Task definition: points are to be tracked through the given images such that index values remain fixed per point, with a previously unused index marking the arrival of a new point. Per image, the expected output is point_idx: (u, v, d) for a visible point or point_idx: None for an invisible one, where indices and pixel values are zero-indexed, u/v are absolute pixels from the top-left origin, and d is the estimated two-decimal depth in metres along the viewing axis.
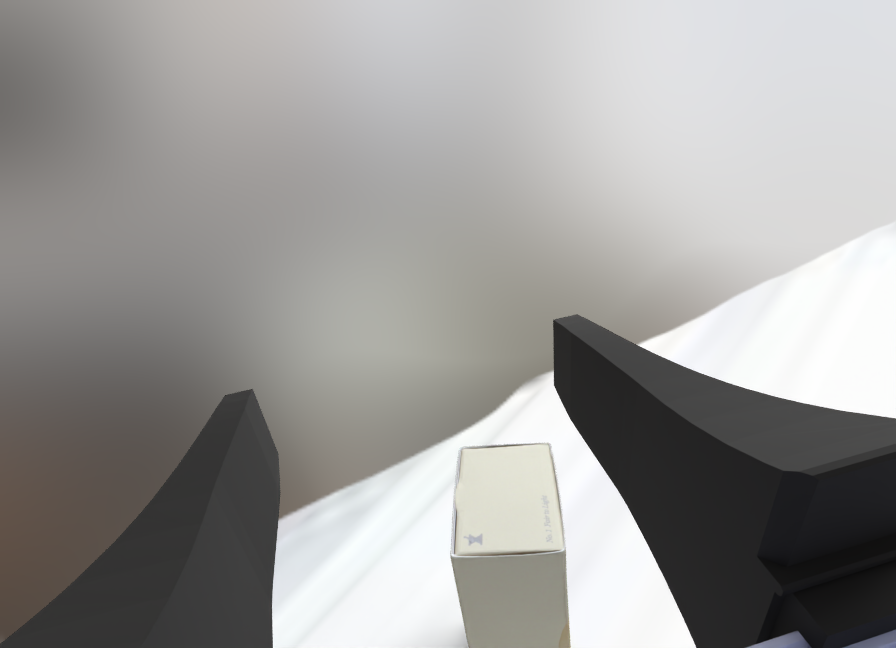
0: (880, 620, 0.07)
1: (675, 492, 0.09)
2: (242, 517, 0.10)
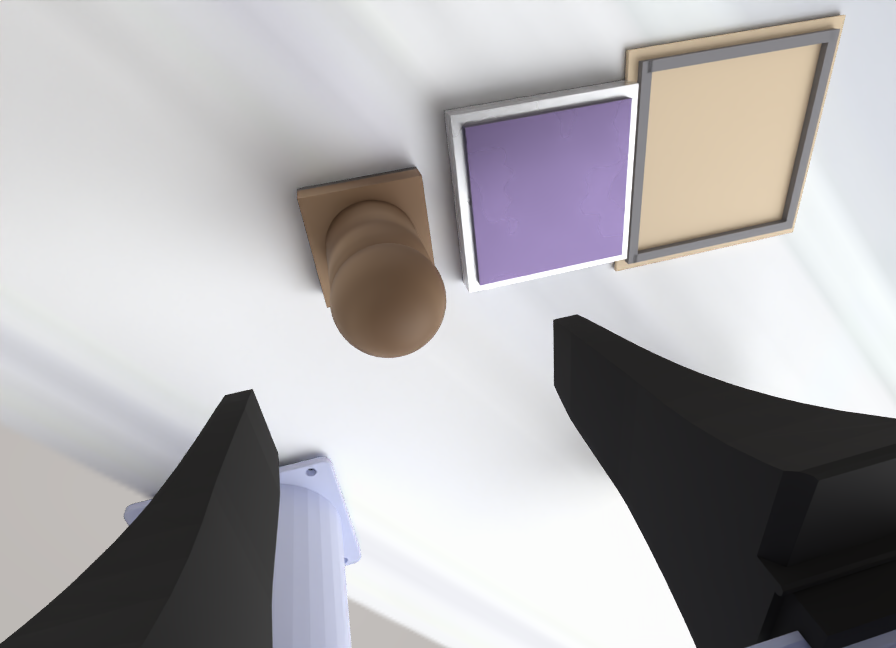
0: (880, 620, 0.07)
1: (675, 492, 0.09)
2: (242, 517, 0.10)
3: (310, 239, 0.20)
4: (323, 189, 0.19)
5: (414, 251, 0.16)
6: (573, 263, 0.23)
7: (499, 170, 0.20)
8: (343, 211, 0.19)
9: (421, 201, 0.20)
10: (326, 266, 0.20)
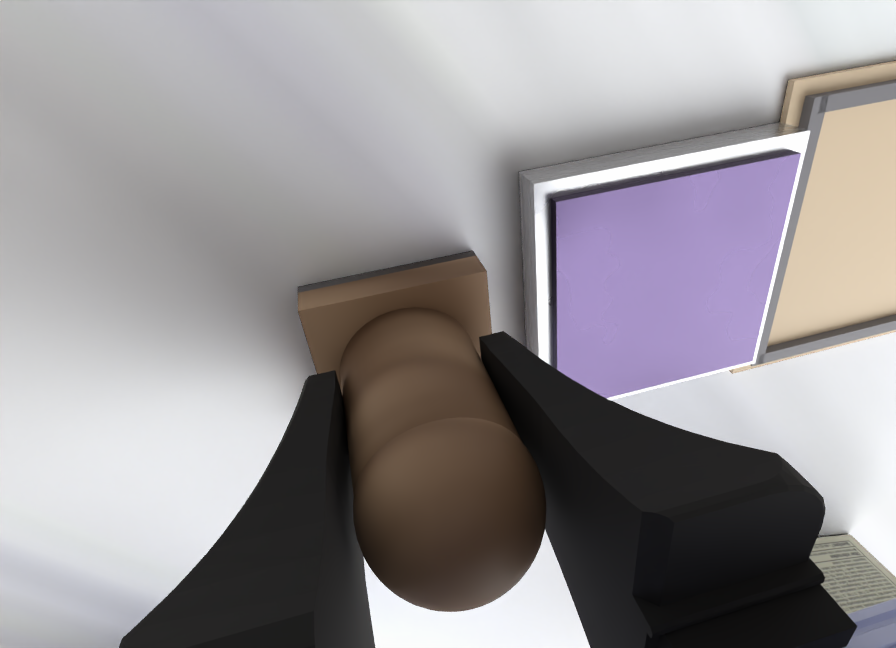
0: None
1: (574, 521, 0.09)
2: (342, 491, 0.10)
3: (317, 365, 0.13)
4: (337, 292, 0.13)
5: (497, 434, 0.09)
6: (686, 375, 0.16)
7: (600, 259, 0.13)
8: (368, 326, 0.13)
9: (483, 307, 0.13)
10: None
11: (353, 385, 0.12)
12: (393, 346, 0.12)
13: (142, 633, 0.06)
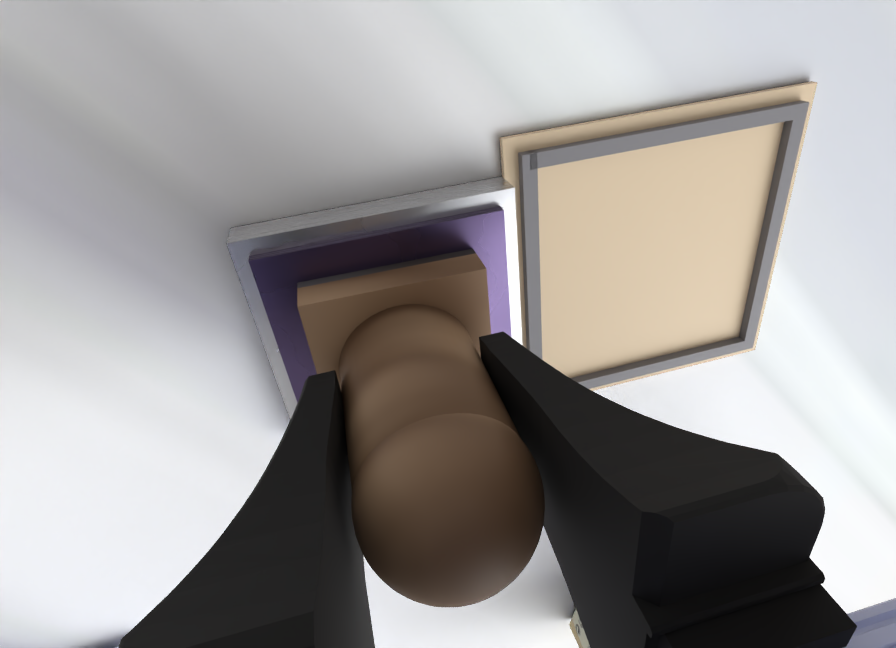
0: None
1: (574, 521, 0.09)
2: (342, 491, 0.10)
3: (316, 361, 0.13)
4: (337, 288, 0.13)
5: (497, 430, 0.09)
6: None
7: None
8: (367, 323, 0.13)
9: (482, 304, 0.13)
10: None
11: (352, 381, 0.12)
12: (392, 342, 0.12)
13: (142, 632, 0.06)
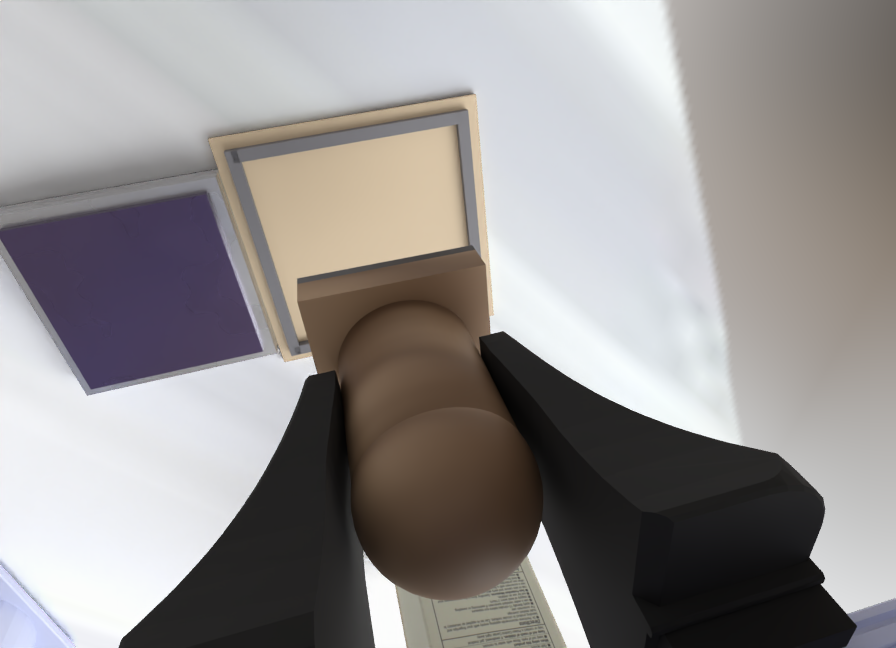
0: None
1: (574, 521, 0.09)
2: (343, 491, 0.10)
3: (316, 356, 0.13)
4: (337, 283, 0.13)
5: (496, 424, 0.09)
6: (203, 362, 0.20)
7: (63, 273, 0.18)
8: (367, 318, 0.13)
9: (482, 300, 0.13)
10: None
11: (351, 376, 0.12)
12: (392, 337, 0.12)
13: (142, 634, 0.06)
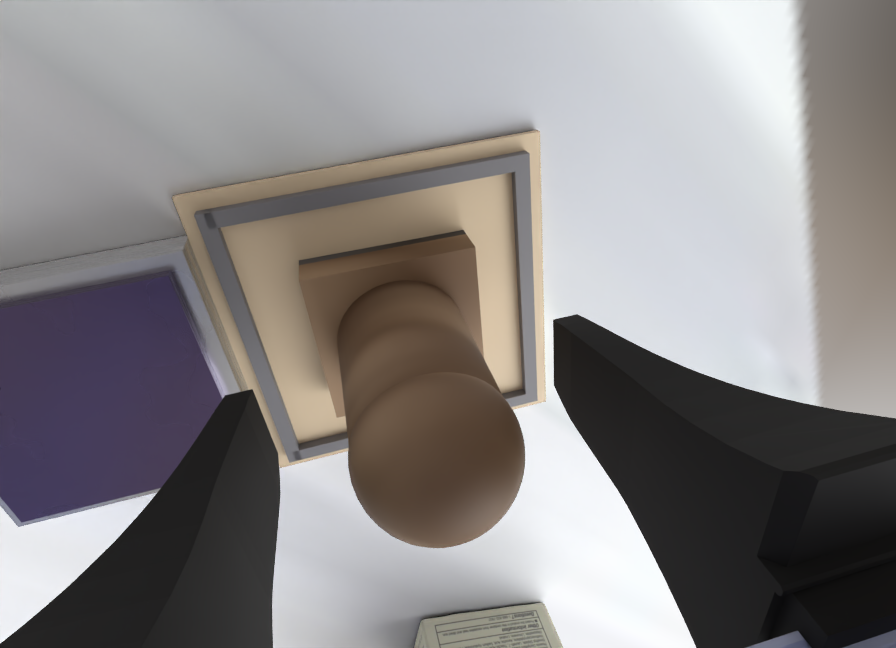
0: (880, 620, 0.07)
1: (675, 492, 0.09)
2: (242, 517, 0.10)
3: (316, 333, 0.14)
4: (336, 264, 0.14)
5: (481, 387, 0.10)
6: None
7: None
8: (364, 297, 0.14)
9: (471, 281, 0.14)
10: (337, 367, 0.15)
11: (349, 349, 0.13)
12: (387, 313, 0.12)
13: None
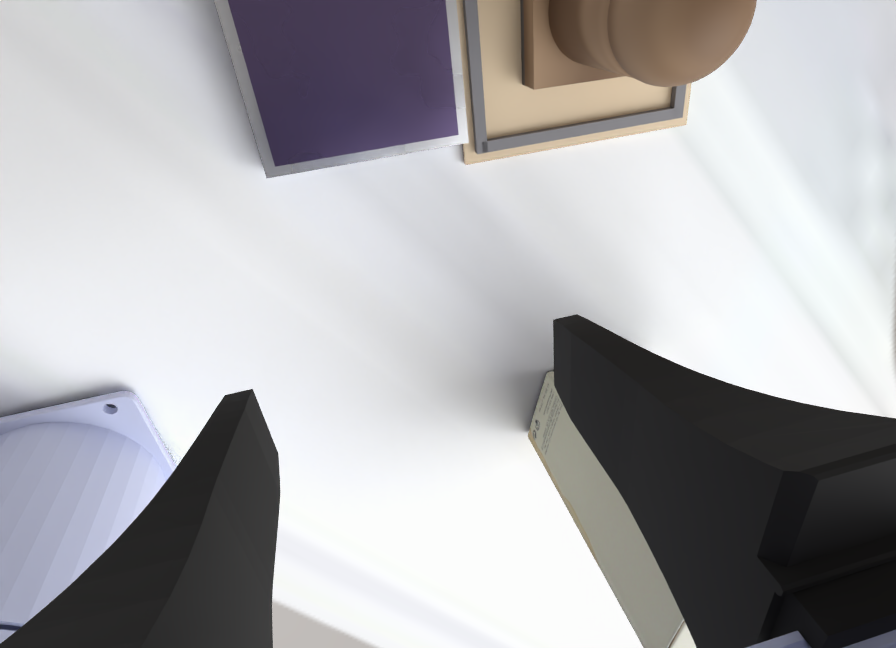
0: (880, 620, 0.07)
1: (675, 492, 0.09)
2: (242, 517, 0.10)
3: None
4: None
5: None
6: (395, 143, 0.18)
7: (270, 2, 0.16)
8: None
9: None
10: (544, 30, 0.17)
11: None
12: None
13: None
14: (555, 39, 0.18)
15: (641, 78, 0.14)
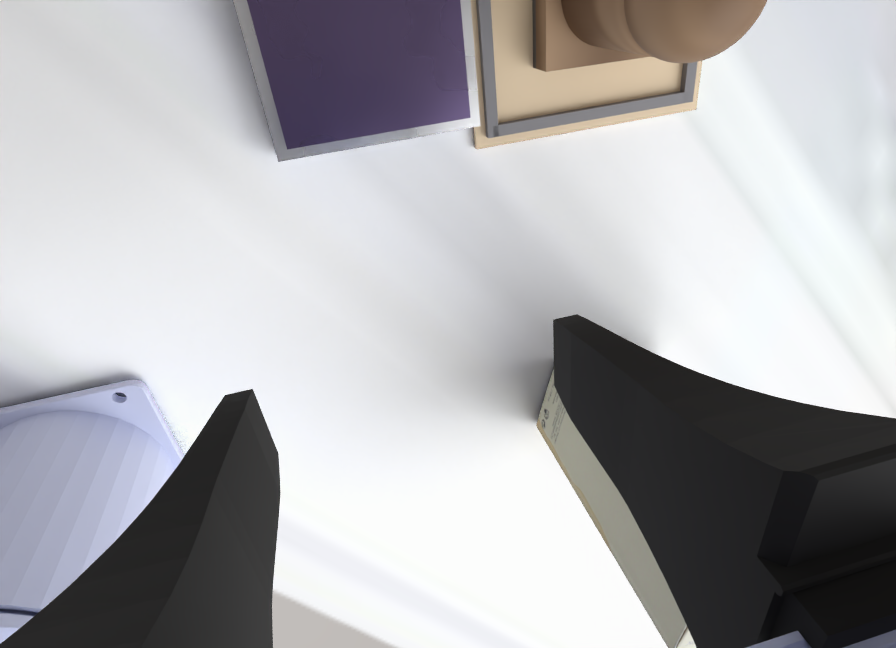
0: (880, 620, 0.07)
1: (675, 492, 0.09)
2: (242, 517, 0.10)
3: None
4: None
5: None
6: (407, 125, 0.18)
7: None
8: None
9: None
10: (557, 12, 0.17)
11: None
12: None
13: None
14: (567, 20, 0.17)
15: (658, 54, 0.14)
